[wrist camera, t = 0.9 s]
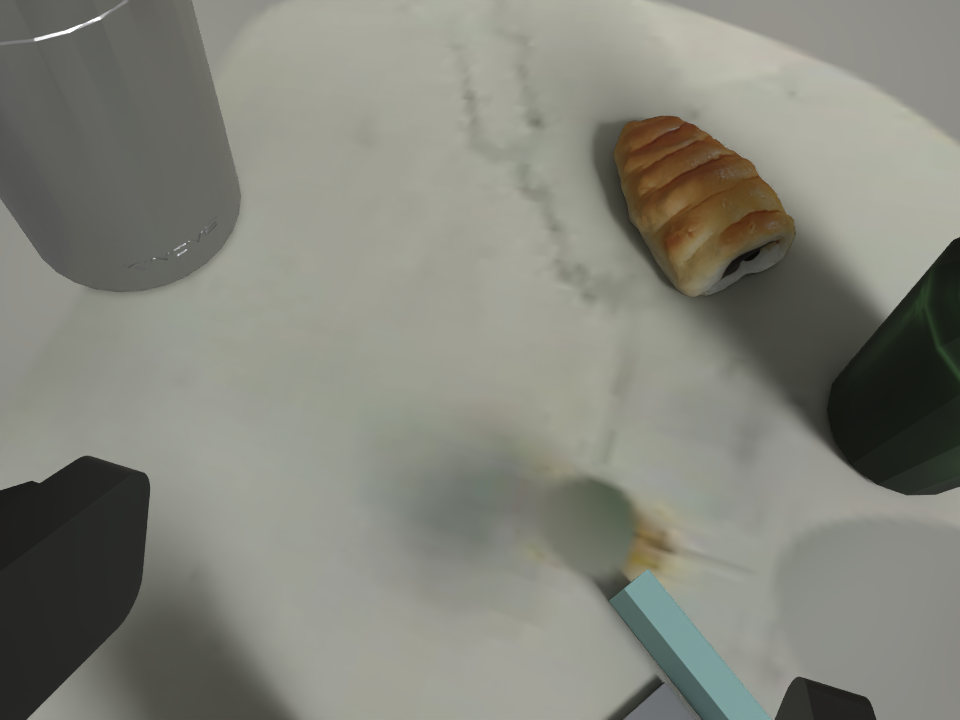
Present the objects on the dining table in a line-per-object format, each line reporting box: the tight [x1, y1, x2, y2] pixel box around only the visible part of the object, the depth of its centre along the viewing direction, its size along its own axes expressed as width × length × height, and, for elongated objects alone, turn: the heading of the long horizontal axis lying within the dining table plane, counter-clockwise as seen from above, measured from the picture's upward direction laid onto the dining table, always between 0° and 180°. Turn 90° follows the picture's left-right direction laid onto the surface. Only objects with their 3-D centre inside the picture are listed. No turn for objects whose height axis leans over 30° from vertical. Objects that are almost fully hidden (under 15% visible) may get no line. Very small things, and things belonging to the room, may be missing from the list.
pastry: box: [613, 116, 796, 297], centre depth 41 cm, size 9×7×4 cm
